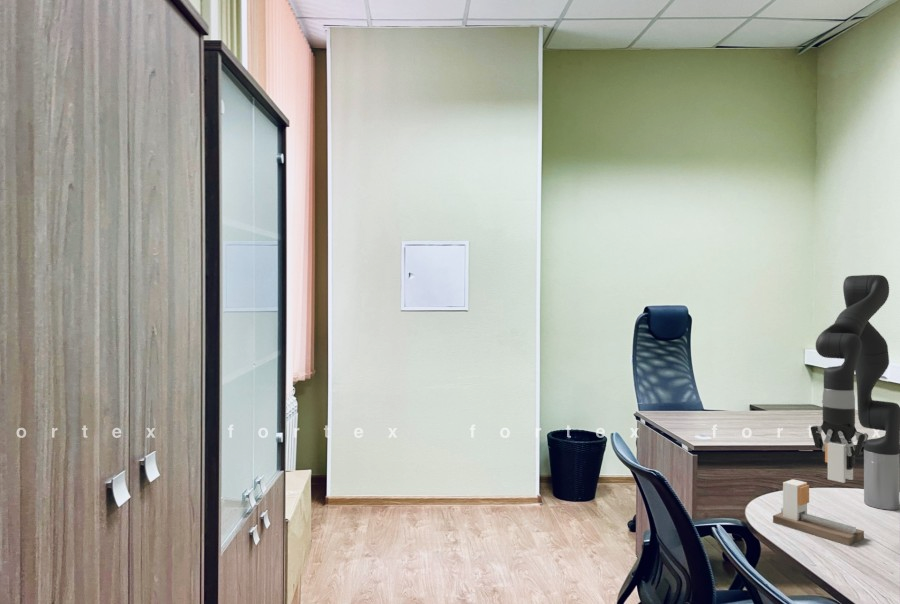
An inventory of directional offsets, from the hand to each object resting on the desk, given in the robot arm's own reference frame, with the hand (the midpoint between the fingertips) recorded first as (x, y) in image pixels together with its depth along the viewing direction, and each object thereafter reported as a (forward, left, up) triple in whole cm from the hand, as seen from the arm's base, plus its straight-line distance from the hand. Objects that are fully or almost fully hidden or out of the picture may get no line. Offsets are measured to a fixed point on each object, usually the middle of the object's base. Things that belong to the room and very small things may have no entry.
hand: (838, 466), depth 164 cm
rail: (0, -6, -19) cm, 20 cm away
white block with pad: (0, 0, -3) cm, 3 cm away
